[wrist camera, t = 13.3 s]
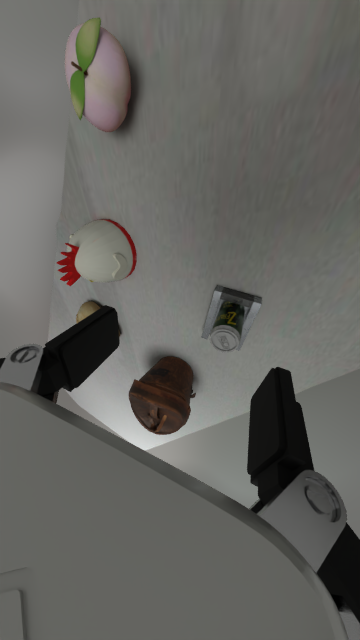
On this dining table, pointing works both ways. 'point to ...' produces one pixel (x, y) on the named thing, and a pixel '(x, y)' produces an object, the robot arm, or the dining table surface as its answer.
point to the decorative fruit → (97, 75)
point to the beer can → (228, 327)
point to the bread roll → (87, 311)
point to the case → (163, 396)
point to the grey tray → (236, 297)
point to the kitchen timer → (99, 253)
